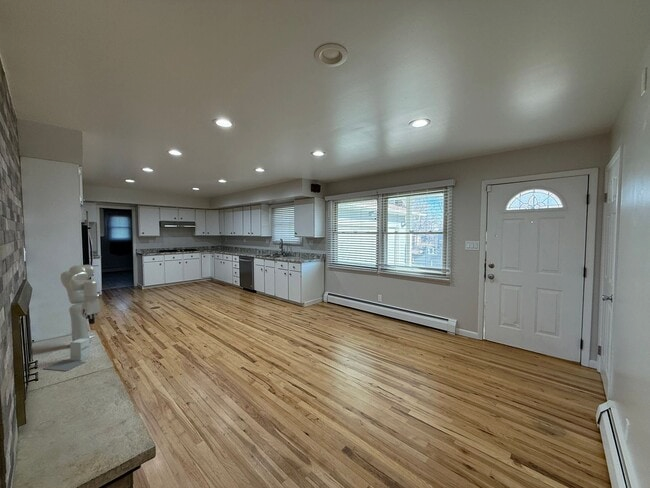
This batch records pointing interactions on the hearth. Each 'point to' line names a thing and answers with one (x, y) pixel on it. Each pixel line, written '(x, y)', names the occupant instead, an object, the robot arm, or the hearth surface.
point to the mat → (64, 365)
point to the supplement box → (79, 349)
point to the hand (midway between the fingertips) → (91, 323)
